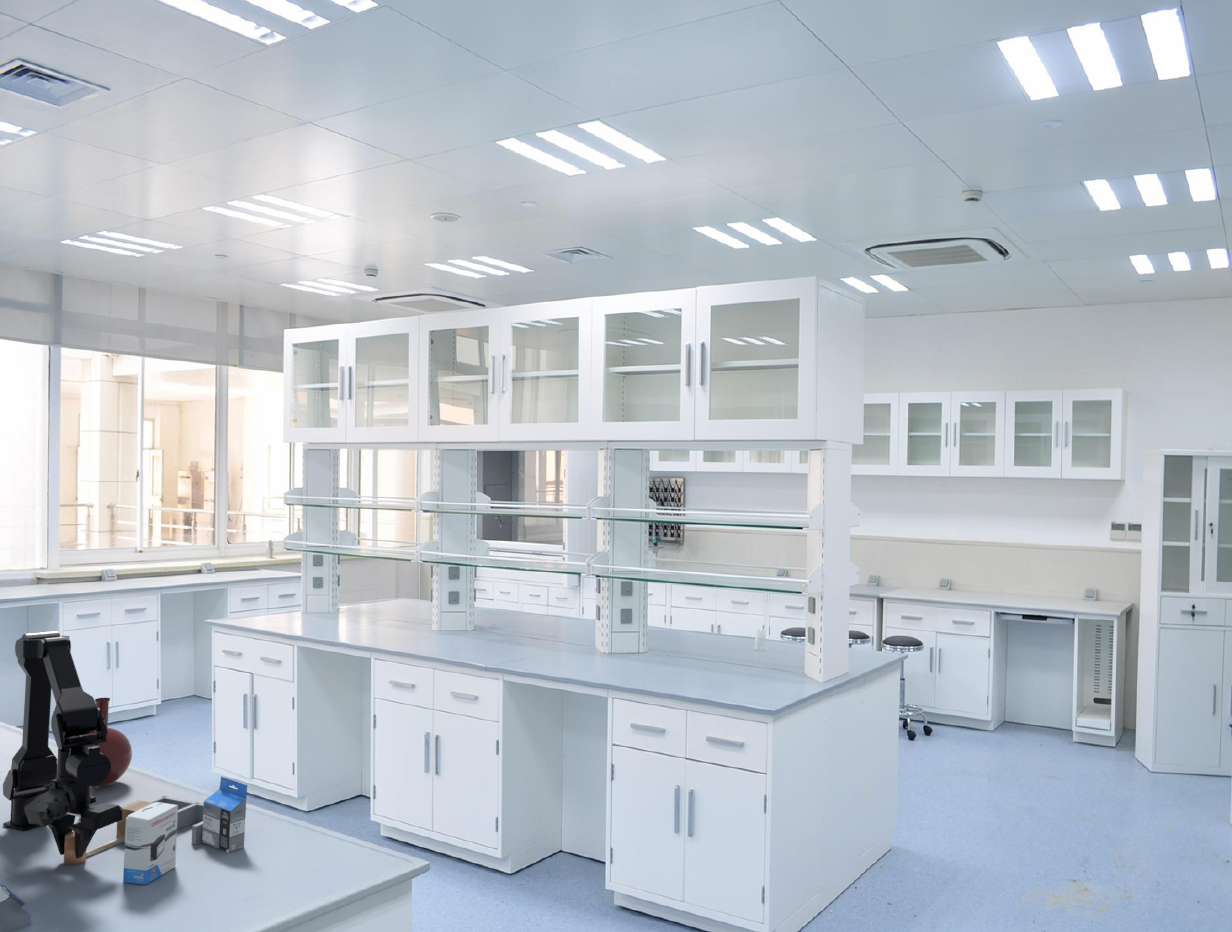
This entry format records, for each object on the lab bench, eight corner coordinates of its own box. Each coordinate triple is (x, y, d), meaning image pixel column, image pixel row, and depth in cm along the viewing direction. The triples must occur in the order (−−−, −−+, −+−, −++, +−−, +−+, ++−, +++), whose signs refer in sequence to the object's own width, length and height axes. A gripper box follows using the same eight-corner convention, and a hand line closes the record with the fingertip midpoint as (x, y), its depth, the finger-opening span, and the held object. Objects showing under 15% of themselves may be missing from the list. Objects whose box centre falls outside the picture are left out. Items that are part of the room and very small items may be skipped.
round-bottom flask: (111, 796, 210) (115, 707, 210) (53, 794, 210) (57, 704, 211) (141, 777, 223) (145, 693, 224) (87, 775, 224) (90, 691, 224)
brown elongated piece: (56, 861, 175) (57, 829, 175) (137, 829, 192) (138, 799, 192) (75, 866, 173) (77, 834, 173) (155, 833, 190) (157, 803, 190)
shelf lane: (122, 828, 192) (123, 811, 192) (163, 812, 202) (164, 795, 202) (195, 844, 186) (196, 826, 186) (233, 826, 195) (234, 809, 195)
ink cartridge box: (200, 842, 186) (203, 780, 187) (218, 836, 190) (220, 775, 190) (228, 853, 182) (230, 790, 182) (245, 847, 185) (248, 784, 185)
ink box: (145, 885, 167) (148, 819, 167) (121, 882, 168) (124, 816, 168) (177, 866, 175) (179, 803, 175) (153, 863, 176) (156, 800, 176)
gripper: (-3, 777, 171) (-7, 863, 171) (73, 792, 165) (70, 881, 164) (52, 760, 181) (49, 841, 181) (126, 774, 175) (123, 858, 175)
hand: (71, 855), depth 175 cm, fingers closed on brown elongated piece, 4 cm apart
